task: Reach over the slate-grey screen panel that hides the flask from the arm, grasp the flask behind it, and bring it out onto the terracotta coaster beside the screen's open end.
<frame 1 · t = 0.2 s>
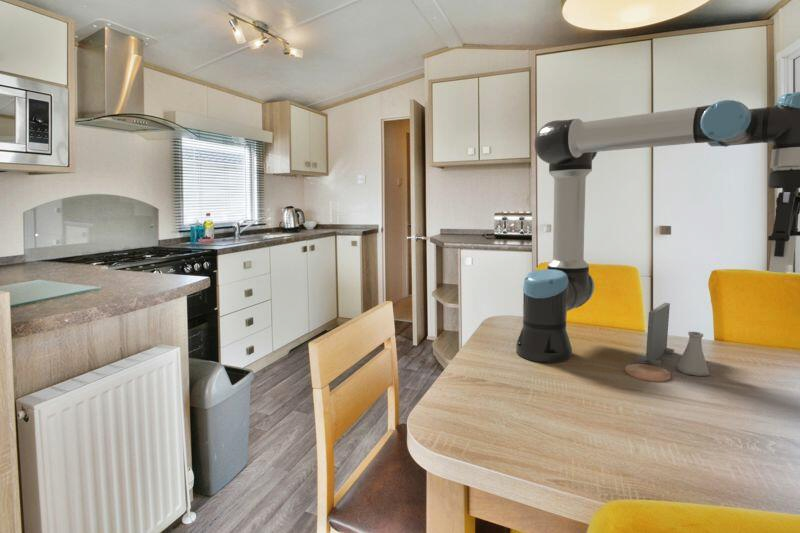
hand: (781, 268, 97), 28 cm above the table, fingers open, 13 cm apart
coaster: (647, 373, 111), on the table
flask: (692, 372, 112), on the table
screen: (656, 357, 122), on the table
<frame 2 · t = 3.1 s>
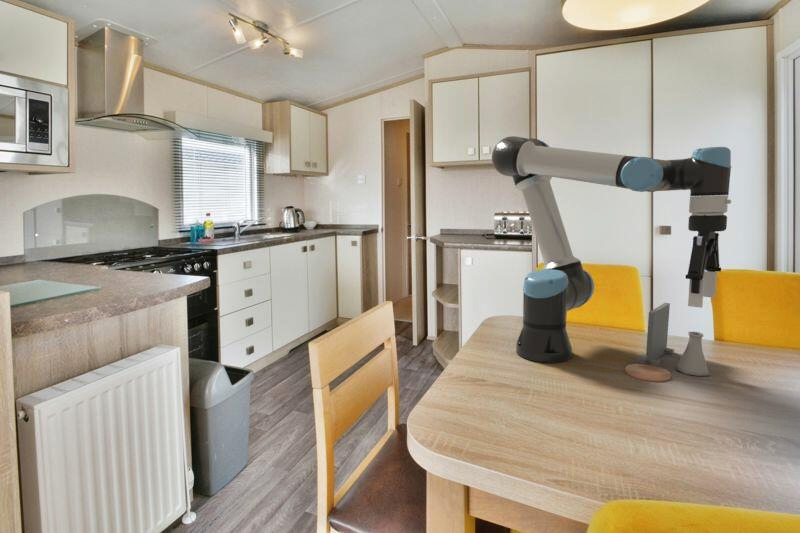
hand: (702, 301, 108), 18 cm above the table, fingers open, 13 cm apart
nothing on the table moved.
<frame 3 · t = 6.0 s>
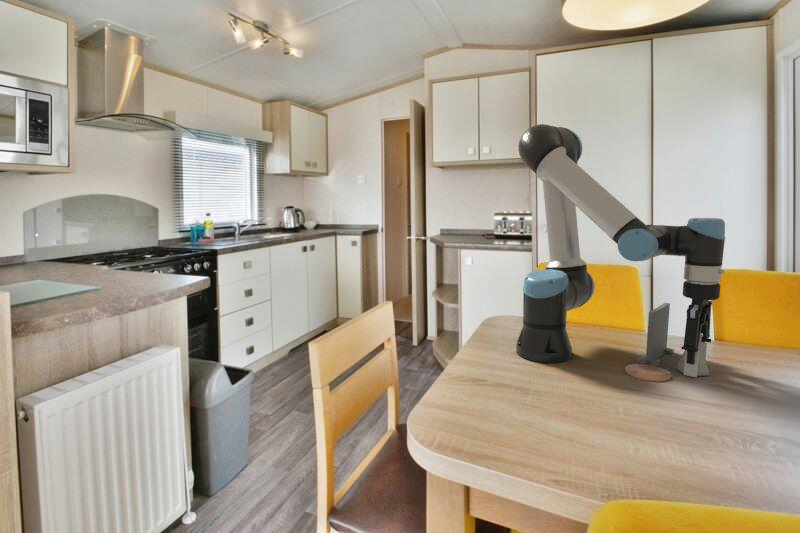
hand: (694, 370, 112), 0 cm above the table, fingers closed on flask, 7 cm apart
flask: (692, 372, 112), on the table, touching gripper
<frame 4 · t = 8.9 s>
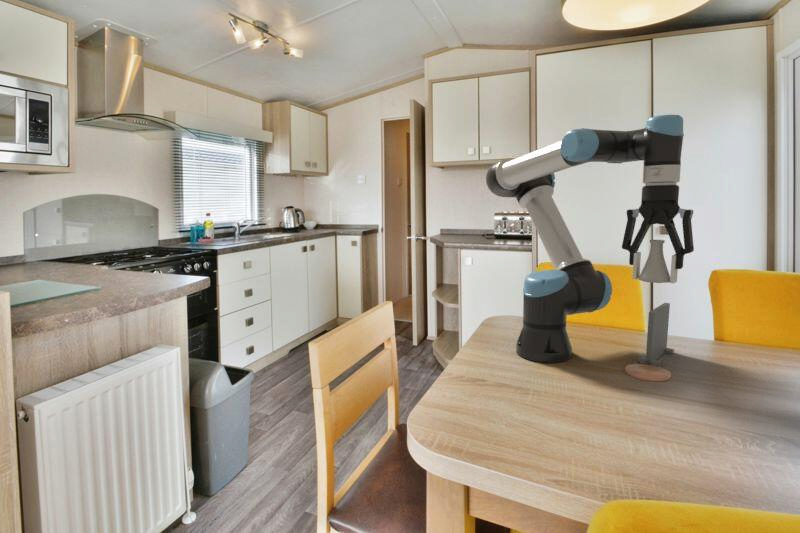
hand: (654, 280, 107), 24 cm above the table, fingers closed on flask, 7 cm apart
flask: (654, 281, 108), point 23 cm above the table, touching gripper
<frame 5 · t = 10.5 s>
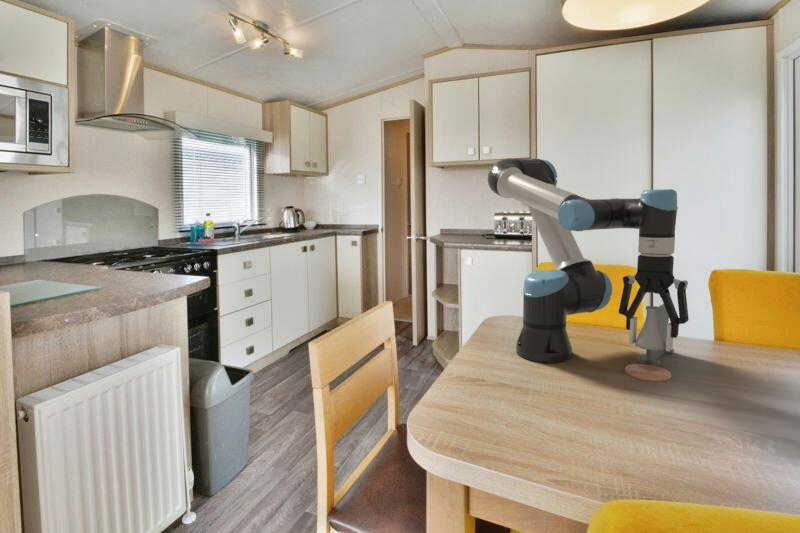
hand: (650, 346, 110), 7 cm above the table, fingers closed on flask, 7 cm apart
flask: (650, 347, 110), point 7 cm above the table, touching gripper
when the fingers open (2 cm above the table, at t = 12.0 s): flask drops 1 cm, resting on coaster.
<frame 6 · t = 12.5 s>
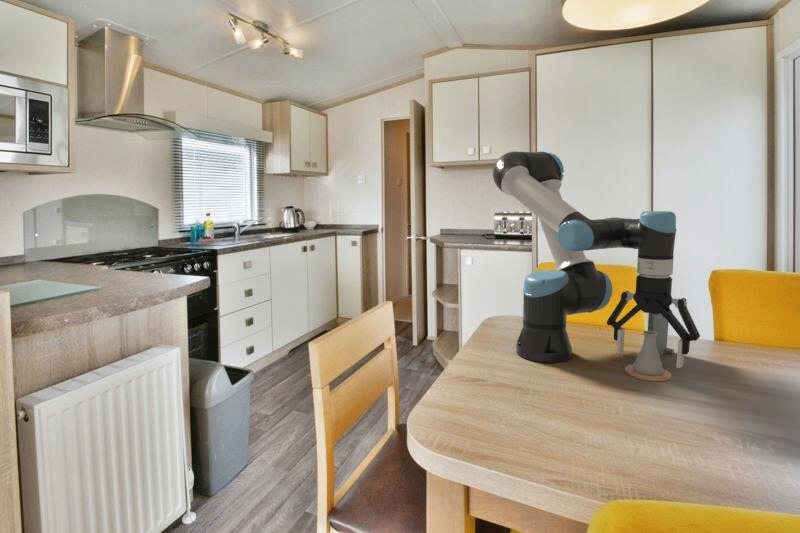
hand: (648, 359, 110), 4 cm above the table, fingers open, 13 cm apart
flask: (647, 371, 111), resting on coaster
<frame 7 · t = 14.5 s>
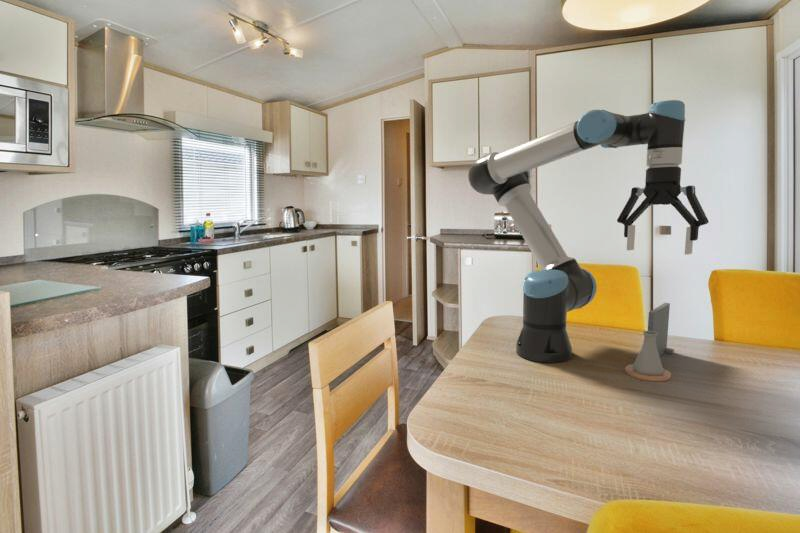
hand: (658, 252, 113), 30 cm above the table, fingers open, 13 cm apart
nothing on the table moved.
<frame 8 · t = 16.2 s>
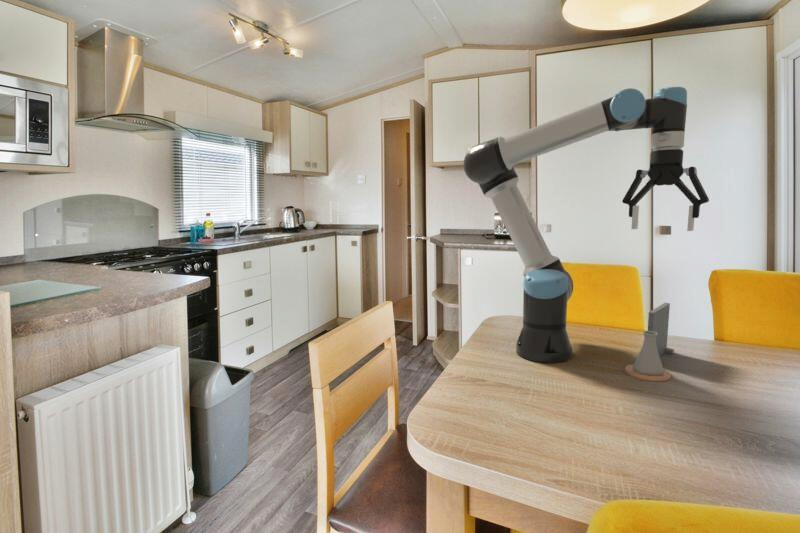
hand: (661, 229, 121), 35 cm above the table, fingers open, 13 cm apart
nothing on the table moved.
at the end: flask 0.3 cm from the coaster (horizontally); flask tilted 0°; the gripper is holding nothing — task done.
